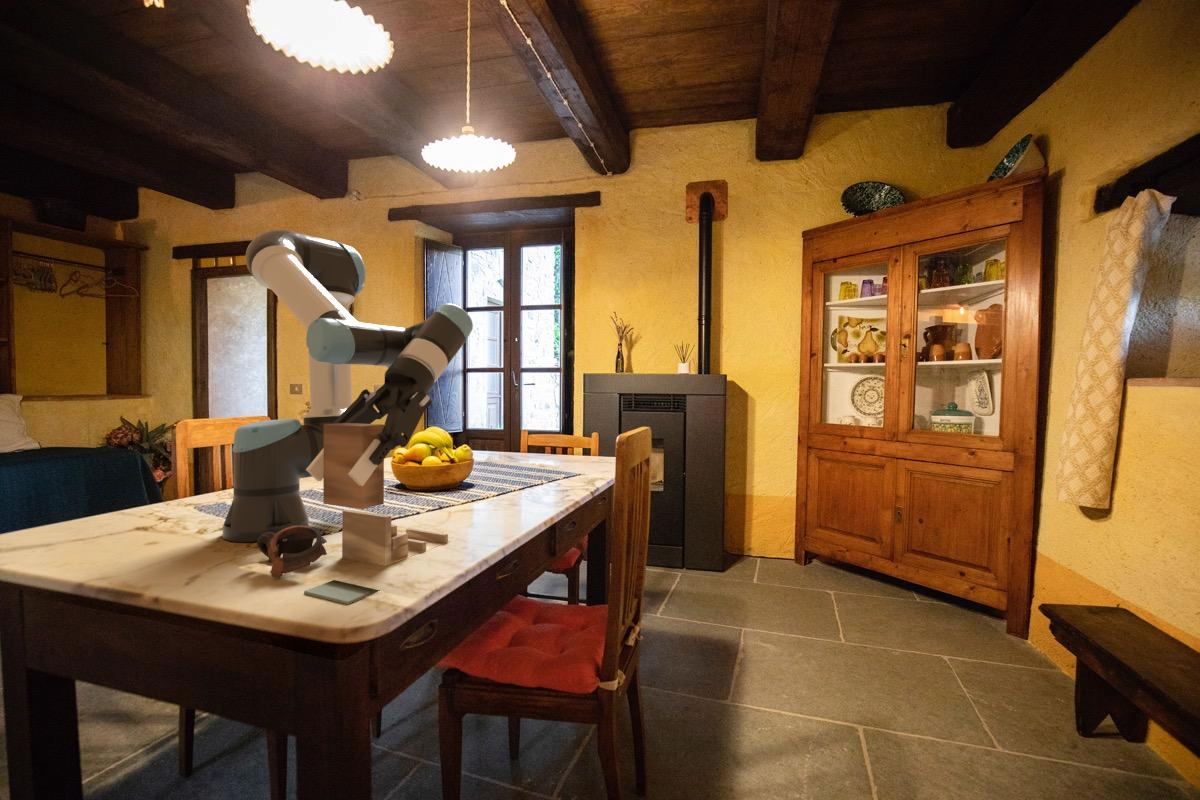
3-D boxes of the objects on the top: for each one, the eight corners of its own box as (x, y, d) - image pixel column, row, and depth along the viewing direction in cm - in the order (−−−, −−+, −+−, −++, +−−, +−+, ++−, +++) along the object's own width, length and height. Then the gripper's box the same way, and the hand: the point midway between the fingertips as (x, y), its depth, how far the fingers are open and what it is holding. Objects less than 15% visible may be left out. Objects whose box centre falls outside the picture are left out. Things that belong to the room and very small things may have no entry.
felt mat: (355, 574, 85) (355, 572, 85) (397, 583, 81) (397, 580, 81) (304, 593, 77) (304, 590, 77) (347, 604, 73) (347, 601, 73)
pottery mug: (339, 562, 93) (339, 527, 89) (305, 604, 84) (302, 568, 80) (275, 543, 93) (272, 508, 89) (235, 583, 85) (229, 547, 81)
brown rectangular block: (346, 498, 82) (346, 422, 82) (383, 503, 79) (384, 424, 79) (323, 503, 79) (323, 424, 78) (361, 509, 75) (362, 426, 75)
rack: (411, 540, 104) (411, 494, 104) (450, 547, 100) (451, 499, 100) (342, 564, 90) (342, 510, 90) (385, 573, 86) (385, 517, 86)
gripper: (474, 387, 88) (402, 499, 74) (383, 386, 97) (302, 487, 82) (453, 353, 83) (371, 466, 69) (359, 356, 92) (268, 457, 78)
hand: (333, 477), depth 76 cm, fingers closed on brown rectangular block, 8 cm apart
